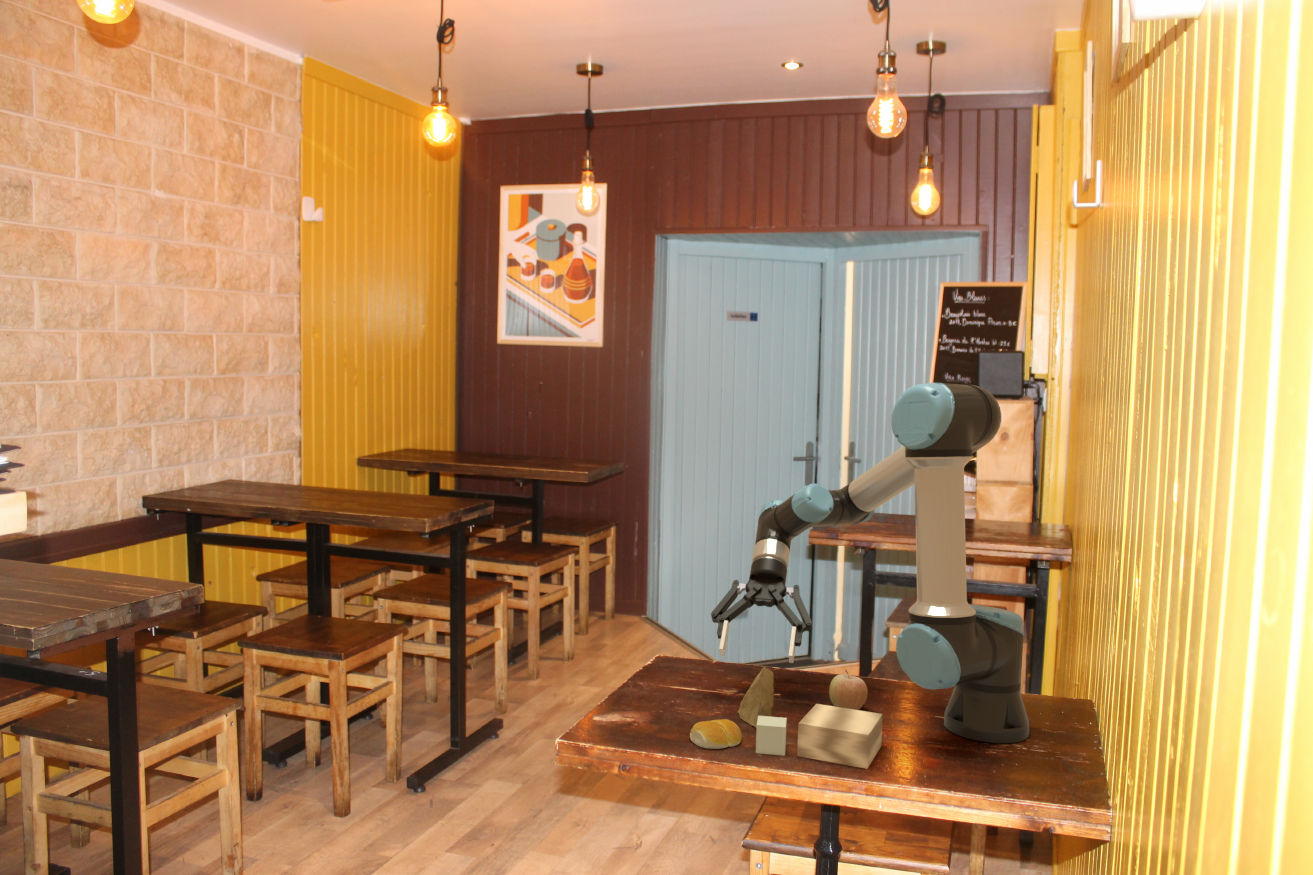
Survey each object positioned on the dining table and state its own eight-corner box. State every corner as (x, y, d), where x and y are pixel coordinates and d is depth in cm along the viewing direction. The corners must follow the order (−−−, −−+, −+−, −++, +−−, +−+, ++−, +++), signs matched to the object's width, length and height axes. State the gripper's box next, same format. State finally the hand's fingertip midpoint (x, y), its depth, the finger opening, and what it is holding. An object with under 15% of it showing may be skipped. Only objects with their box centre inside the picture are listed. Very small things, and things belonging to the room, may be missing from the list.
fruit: (821, 710, 191) (823, 670, 190) (836, 701, 197) (838, 662, 196) (858, 718, 186) (860, 677, 186) (872, 708, 193) (874, 669, 192)
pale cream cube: (785, 745, 171) (786, 717, 171) (784, 755, 166) (785, 727, 166) (757, 743, 172) (758, 715, 172) (755, 753, 167) (756, 724, 167)
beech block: (881, 747, 172) (882, 713, 172) (867, 770, 161) (868, 734, 161) (815, 735, 177) (816, 703, 177) (797, 757, 166) (798, 723, 166)
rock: (784, 723, 176) (794, 699, 185) (756, 684, 176) (767, 663, 185) (738, 750, 179) (750, 725, 189) (710, 712, 180) (724, 689, 189)
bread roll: (750, 744, 171) (750, 722, 171) (709, 753, 166) (710, 730, 166) (721, 730, 178) (722, 708, 178) (682, 738, 173) (682, 716, 173)
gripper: (830, 581, 202) (821, 671, 189) (713, 572, 209) (696, 659, 195) (829, 560, 197) (819, 651, 183) (708, 551, 203) (691, 639, 189)
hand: (756, 655), depth 189 cm, fingers open, 13 cm apart
